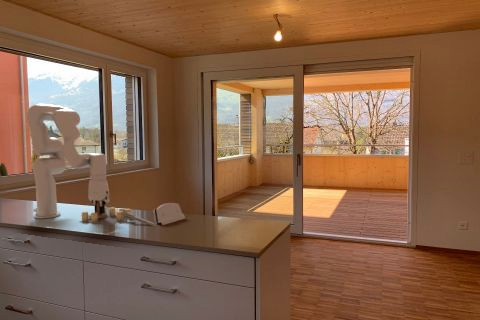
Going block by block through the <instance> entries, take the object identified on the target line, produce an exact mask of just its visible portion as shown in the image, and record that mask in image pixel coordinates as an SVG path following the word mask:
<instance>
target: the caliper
mask: <svg viewBox="0 0 480 320" xmlns="http://www.w3.org/2000/svg"><path fill="white" fill-rule="evenodd" d="M124 217H125V221H124ZM128 218H129V219H128ZM127 219H128V220H131V221H136V222H139V223H142V224H145V225H148V226H150V227H151V226H153V227H156V226H157V224H155V222H152V221H150V220H147V219H144V218H141V217H139V216H135V214H132V213H131V214H130V213H128V212H127V210H126V211H125V210H124V211H123V212H122V222H127V221H128V220H127Z"/></svg>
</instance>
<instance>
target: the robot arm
mask: <svg viewBox="0 0 480 320" xmlns="http://www.w3.org/2000/svg"><path fill="white" fill-rule="evenodd" d="M44 121H50V122H51V121H52V122H53V123H54V124H55V127H56V129H57V130H58V132H59V133H60V135H61V137H62V139H63V142H62V141H61V139H59V138H57V137H51V136H50V134H49V128H48V126H47V124H46V123H45V122H44ZM26 122H27V124H28V127H29V131H30V139H31V144H32V150H33V153H34V155H37V156H49V157H41V158H37V159H35V160H34V161H33V164H32V172H33V175H34V180H35V194H36V207H35V208H34V209H33V212H35V214H34V215H33V217H34V219H41V220H42V219H51V218H57V217H59V216H61V212H60V211H58V206H57V205H58V200H57V183H56V180H55V178H54V176H53V175H57V174H63V172H65V170H66V168H67V163H68V164H69V165H70V167H72V168H73V169H80V170H81V169H87V168H89V173H90V174H89V179H90V180H89V182H88V188H87V189H88V191H87V193H88V194H87V197H88V201H89V202H91V203H92V204H93V206H94V213H96V208H97V201H100V206H99V213H100V214H103V213H105V207H106V205H107V204H108V203H109V202H110V189H109V184H108V183H109V182H108V180H107V163H106V162H107V161H106V160H107V159H106V154H104V153H92V152H83V153H79V152H78V151H77V148H76V146H75V141H77V140H78V139H79V138H80V137H81V132H80V131H79V128H78V125H79V124H80V122H81V117H80V114H79V113H78V112H77V111H76V110H72V109H71V108H70V109H69V108H67V107H63V106H61V105H54V104H46V103H38V104H33V105H32V106H30V107H29V108H28V109H27V112H26ZM102 201H103V203H102Z"/></svg>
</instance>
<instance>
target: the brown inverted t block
mask: <svg viewBox="0 0 480 320" xmlns="http://www.w3.org/2000/svg"><path fill="white" fill-rule="evenodd" d="M102 203H103V201H102ZM99 206H100V201H97V208H96V213H97V215H98V218H106V215H103V214H100V213H99Z"/></svg>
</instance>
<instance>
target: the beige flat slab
mask: <svg viewBox="0 0 480 320" xmlns="http://www.w3.org/2000/svg"><path fill="white" fill-rule="evenodd" d="M152 212H153V217H154V224H155V225H158V224H160V223H161V225H162V226H163V225H168V224H171V223H174V222H177V221H181V220H186V217H185V214H184V213H183V212H182V208H181V207H180V203H177V202H168V203H163V204H160V205H158V206H157V207H156V208H154V209H153V211H152Z"/></svg>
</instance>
